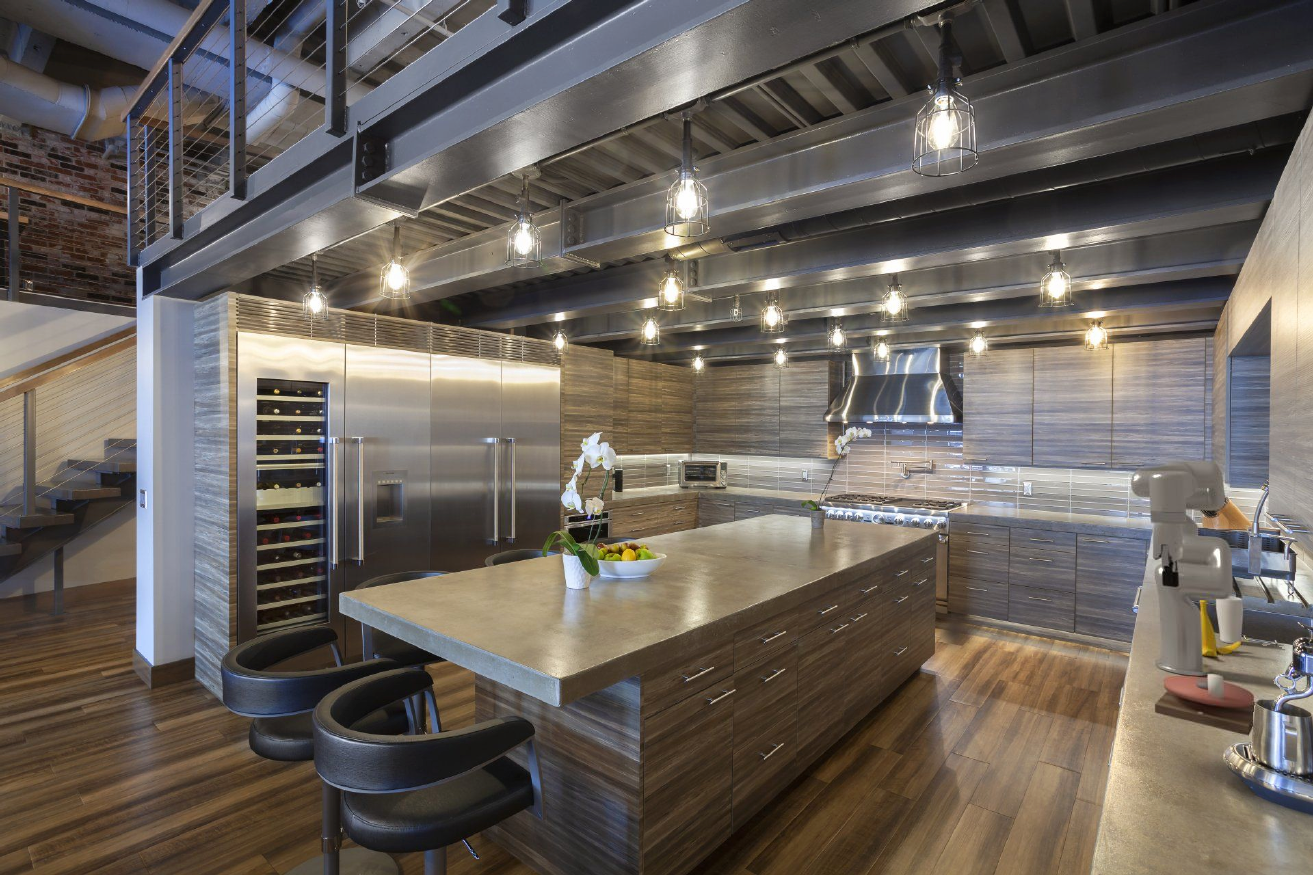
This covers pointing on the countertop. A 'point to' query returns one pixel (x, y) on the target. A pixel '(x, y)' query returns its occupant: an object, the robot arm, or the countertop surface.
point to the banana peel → (1211, 636)
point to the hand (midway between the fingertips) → (1170, 585)
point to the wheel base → (1207, 713)
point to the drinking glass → (1230, 619)
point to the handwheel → (1209, 690)
